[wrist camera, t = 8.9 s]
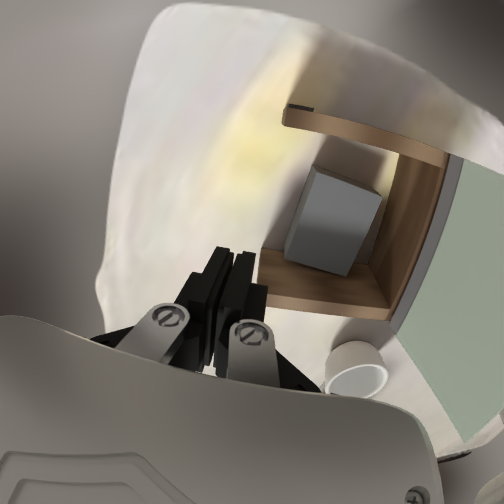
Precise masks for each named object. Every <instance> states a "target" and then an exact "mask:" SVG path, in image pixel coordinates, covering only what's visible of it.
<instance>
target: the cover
mask: <svg viewBox="0 0 504 504" xmlns="http://www.w3.org/2000/svg"><path fill="white" fill-rule="evenodd" d="M389 326H390V328H391V329H392V330H393V332H394V333H395V335H396V337H397V339H398V340H399V342H400V343H401V344H402V346H403V347H404V349H405V350H406V352H407V353H408V355H409V356H410V357H411V359H412V360H413V362H414V363H415V365H416V366H417V368H418V369H419V371H420V372H421V374H422V375H423V377H424V378H425V380H426V381H427V383H428V384H429V386H430V388H431V389H432V391H433V392H434V394H435V395H436V397H437V398H438V400H439V402H440V403H441V405H442V406H443V408H444V410H445V411H446V413H447V415H448V416H449V418H450V420H451V421H452V423H453V425H454V426H455V428H456V430H457V431H458V433H459V435H460V436H461V438H462V440H463V442H464V443H466V442H467V441H468V440H470V439H471V438H473V437H474V436H475V435H476V434H477V433H478V432H480V431H481V430H482V429H483V428H484V427H485V426H486V425H487V424H488V423H489V422H490V421H491V420H492V419H493V418H494V417H496V416H497V415H498V414H499V413H500V411H501V410H502V409H503V408H504V175H501V174H499V173H497V172H495V171H493V170H490V169H488V168H486V167H483V166H481V165H479V164H476V163H474V162H471V161H469V160H466V159H463V158H461V157H458V156H455V155H453V154H451V155H450V160H449V164H448V168H447V172H446V176H445V180H444V184H443V187H442V191H441V194H440V198H439V201H438V205H437V208H436V211H435V214H434V217H433V220H432V223H431V226H430V229H429V232H428V235H427V238H426V240H425V243H424V246H423V249H422V251H421V254H420V256H419V259H418V261H417V264H416V266H415V269H414V271H413V274H412V276H411V278H410V281H409V283H408V285H407V288H406V290H405V292H404V294H403V296H402V299H401V301H400V303H399V305H398V307H397V309H396V311H395V313H394V315H393V317H392V319H391V321H390V323H389Z"/></svg>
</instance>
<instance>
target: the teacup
mask: <svg viewBox="0 0 504 504" xmlns="http://www.w3.org/2000/svg"><path fill="white" fill-rule="evenodd" d="M387 380H388V371H387V368H386V366H385V363H384V361H383V359H382V357H381V355H380V353H379V352H378V350H377V349H376V348H375V347H374V346H372V345H371V344H369V343H367V342H363V341H350V342H347V343H344V344H342V345H340V346H338V347H337V348H336V349H334V350H333V351H332V352H331V354H330V355H329V357H328V358H327V361H326V364H325V381H324V382H323V384H322V385H321V386H320V388H319V389H320V390H321V391H323V389H324V387H325V392H326V394H330V393H334V394H338V395H342V396H352V397H360V398H368V397H370V396H372V395H374V394H375V393H377V392H378V391H379V390H381V389H382V388H383V386H384V385H385V384H386V382H387Z"/></svg>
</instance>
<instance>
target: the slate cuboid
mask: <svg viewBox="0 0 504 504" xmlns="http://www.w3.org/2000/svg"><path fill="white" fill-rule="evenodd" d="M382 198H383V197H382V196H381V195H380V194H379V193H378V192H376V191H375V190H374V189H373V188H372V187H370V186H367V185H365V184H362V183H360V182H357V181H354V180H352V179H349V178H347V177H344V176H341V175H339V174H336V173H333V172H331V171H328V170H325V169H322V168H319V167H316V166H314V165H312V166H311V169H310V172H309V175H308V178H307V181H306V183H305V186H304V189H303V192H302V195H301V198H300V200H299V203H298V206H297V209H296V212H295V214H294V217H293V220H292V223H291V225H290V228H289V231H288V234H287V236H286V239H285V242H284V254H285V259H287V260H290V261H294V262H297V263H301V264H304V265H308V266H311V267H314V268H318V269H321V270H325V271H328V272H332V273H335V274H338V275H342V276H345V277H346V276H347V274H348V272H349V270H350V268H351V266H352V264H353V262H354V260H355V258H356V256H357V254H358V252H359V250H360V247H361V245H362V243H363V241H364V239H365V237H366V235H367V232H368V230H369V228H370V226H371V224H372V221H373V219H374V217H375V214H376V212H377V210H378V208H379V205H380V203H381V200H382Z"/></svg>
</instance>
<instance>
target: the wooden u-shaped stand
mask: <svg viewBox="0 0 504 504" xmlns="http://www.w3.org/2000/svg"><path fill="white" fill-rule="evenodd" d="M313 111H314V108H310V107H305V106H300V105H294V104H288V106H287V108H286V109H284V110H283V117H282V124H283V125H284V126H287V127H292V128H298V129H303V130H309V131H314V132H318V133H323V134H328V135H332V136H337V137H341V138H345V139H349V140H353V141H357V142H361V143H365V144H369V145H372V146H376V147H380V148H383V149H386V150H390V151H393V152H396V153H400V155H399V159H398V163H397V168H396V172H395V176H394V180H393V184H392V188H391V191H390V195H389V199H388V202H387V206H386V209H385V213H384V216H383V220H382V223H381V226H380V230H379V233H378V236H377V239H376V242H375V245H374V248H373V251H372V254H371V257H370V260H369V263H368V265H366V264H360V263H354V262H353V264H352V266H351V268H350V270H349V272H348V274H347V276H346V277H345V276H342V275H338V274H335V273H332V272H328V271H325V270H321V269H318V268H314V267H311V266H308V265H304V264H301V263H297V262H294V261H290V260H287V259H285V254H284V251H278V250H272V249H265V248H261V252H260V258H259V267H258V276H257V284H261V285H267V286H268V293H267V301H266V306H267V307H274V308H281V309H288V310H296V311H303V312H311V313H319V314H328V315H337V316H346V317H355V318H365V319H376V320H387V321H391V319H392V317H393V315H394V313H395V311H396V309H397V307H398V305H399V303H400V301H401V299H402V296H403V294H404V292H405V290H406V288H407V285H408V283H409V281H410V278H411V276H412V274H413V271H414V269H415V266H416V264H417V261H418V259H419V256H420V254H421V251H422V249H423V246H424V243H425V240H426V238H427V235H428V232H429V229H430V226H431V223H432V220H433V217H434V214H435V211H436V208H437V205H438V201H439V198H440V194H441V191H442V187H443V184H444V180H445V176H446V172H447V168H448V164H449V160H450V155H451V154H449V153H447V152H444V151H442V150H439V149H437V148H434V147H432V146H429V145H426V144H424V143H421V142H418V141H415V140H413V139H410V138H407V137H404V136H401V135H398V134H395V133H392V132H388V131H385V130H382V129H379V128H375V127H372V126H368V125H365V124H361V123H357V122H353V121H350V120H346V119H342V118H337V117H333V116H329V115H324V114H320V113H315V112H313Z"/></svg>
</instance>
